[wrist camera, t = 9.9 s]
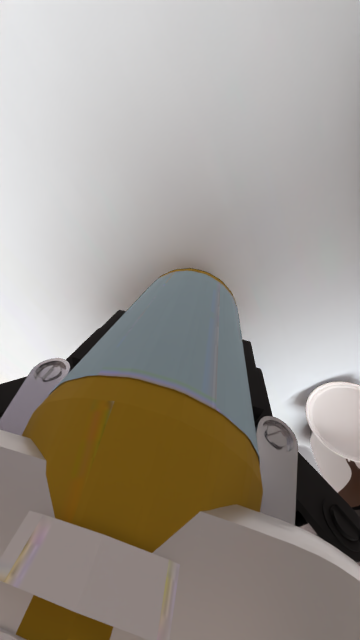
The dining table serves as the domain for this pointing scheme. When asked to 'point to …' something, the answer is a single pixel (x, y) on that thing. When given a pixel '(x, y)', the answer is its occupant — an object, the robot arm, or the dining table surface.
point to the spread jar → (337, 437)
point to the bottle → (135, 463)
